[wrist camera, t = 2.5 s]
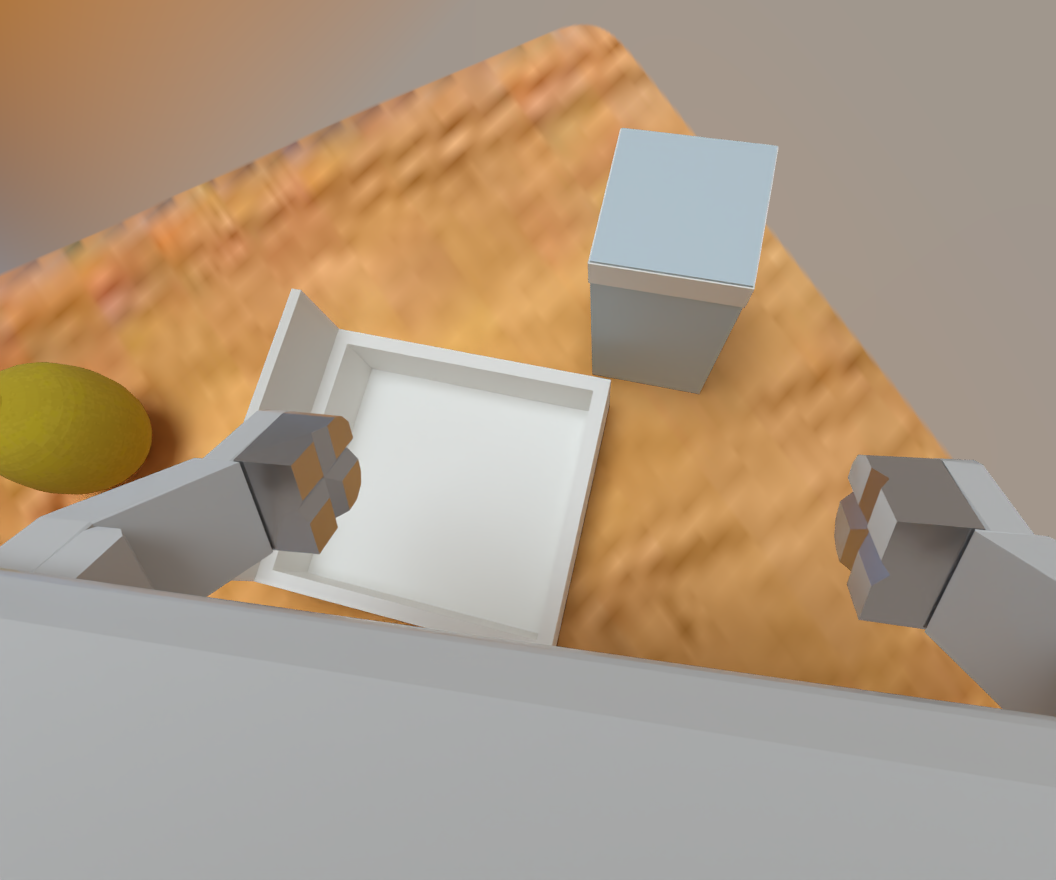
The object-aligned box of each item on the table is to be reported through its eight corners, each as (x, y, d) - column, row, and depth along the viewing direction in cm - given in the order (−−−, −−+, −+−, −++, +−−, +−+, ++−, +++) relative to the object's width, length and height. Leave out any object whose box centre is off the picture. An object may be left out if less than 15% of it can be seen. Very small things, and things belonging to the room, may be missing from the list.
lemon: (175, 382, 31) (34, 311, 23) (198, 480, 29) (55, 439, 22) (77, 424, 31) (-97, 367, 23) (95, 523, 29) (-85, 498, 22)
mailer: (555, 652, 25) (539, 672, 19) (288, 580, 27) (188, 576, 21) (609, 405, 28) (612, 345, 21) (360, 357, 30) (291, 288, 23)
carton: (700, 395, 27) (755, 287, 18) (591, 374, 28) (587, 261, 19) (718, 296, 29) (779, 144, 19) (613, 279, 29) (620, 126, 20)
